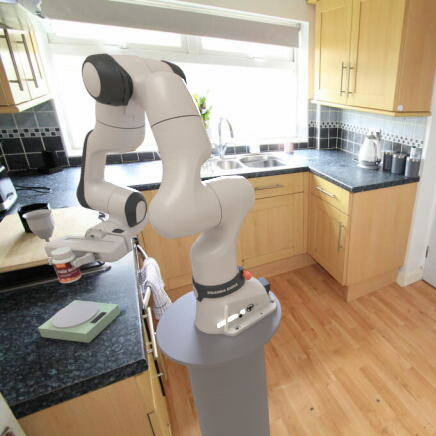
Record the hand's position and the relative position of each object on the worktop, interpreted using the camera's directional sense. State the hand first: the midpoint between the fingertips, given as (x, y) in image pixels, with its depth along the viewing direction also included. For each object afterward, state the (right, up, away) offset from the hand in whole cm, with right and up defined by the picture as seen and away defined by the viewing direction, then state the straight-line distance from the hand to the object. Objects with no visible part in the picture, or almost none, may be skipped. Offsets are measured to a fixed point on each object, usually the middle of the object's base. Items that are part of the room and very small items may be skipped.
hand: (62, 264), depth 80 cm
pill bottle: (0, -4, +3) cm, 5 cm away
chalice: (-29, -3, +32) cm, 43 cm away
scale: (+2, -17, +4) cm, 17 cm away
